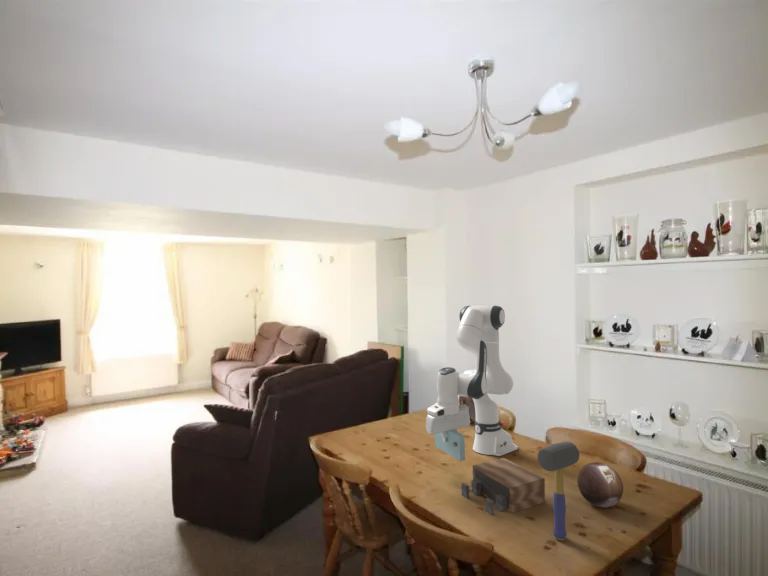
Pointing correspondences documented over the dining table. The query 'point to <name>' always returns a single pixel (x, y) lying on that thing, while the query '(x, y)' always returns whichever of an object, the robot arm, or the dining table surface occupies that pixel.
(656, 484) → the dining table surface
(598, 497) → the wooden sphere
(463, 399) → the clay figurine
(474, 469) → the cabinet
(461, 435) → the door
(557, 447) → the rubber mallet
